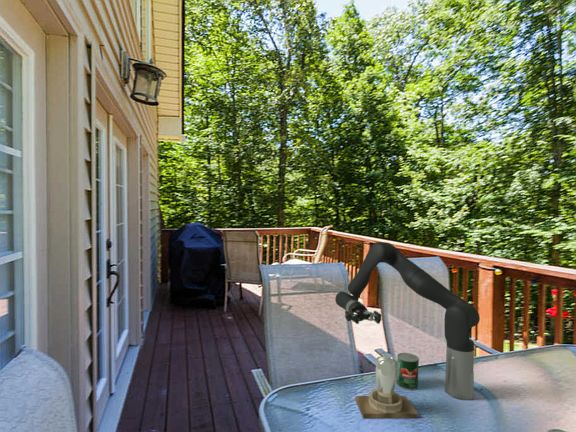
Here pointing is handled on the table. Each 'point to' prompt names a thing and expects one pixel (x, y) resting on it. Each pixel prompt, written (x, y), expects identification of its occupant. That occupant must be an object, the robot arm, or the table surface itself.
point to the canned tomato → (407, 371)
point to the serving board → (377, 414)
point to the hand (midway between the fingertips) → (368, 321)
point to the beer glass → (385, 379)
